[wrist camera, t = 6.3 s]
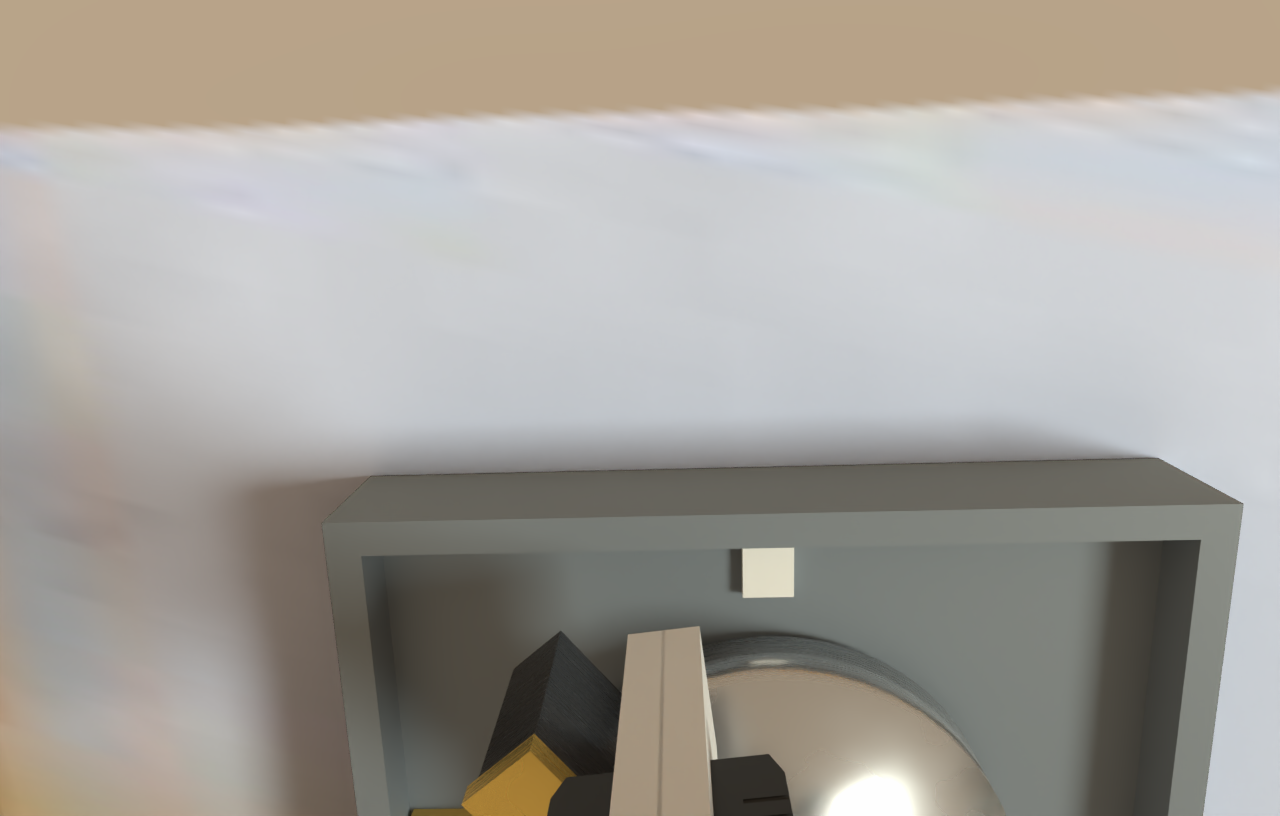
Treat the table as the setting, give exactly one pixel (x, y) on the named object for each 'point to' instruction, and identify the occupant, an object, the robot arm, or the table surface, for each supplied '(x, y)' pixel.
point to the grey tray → (805, 607)
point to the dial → (746, 731)
